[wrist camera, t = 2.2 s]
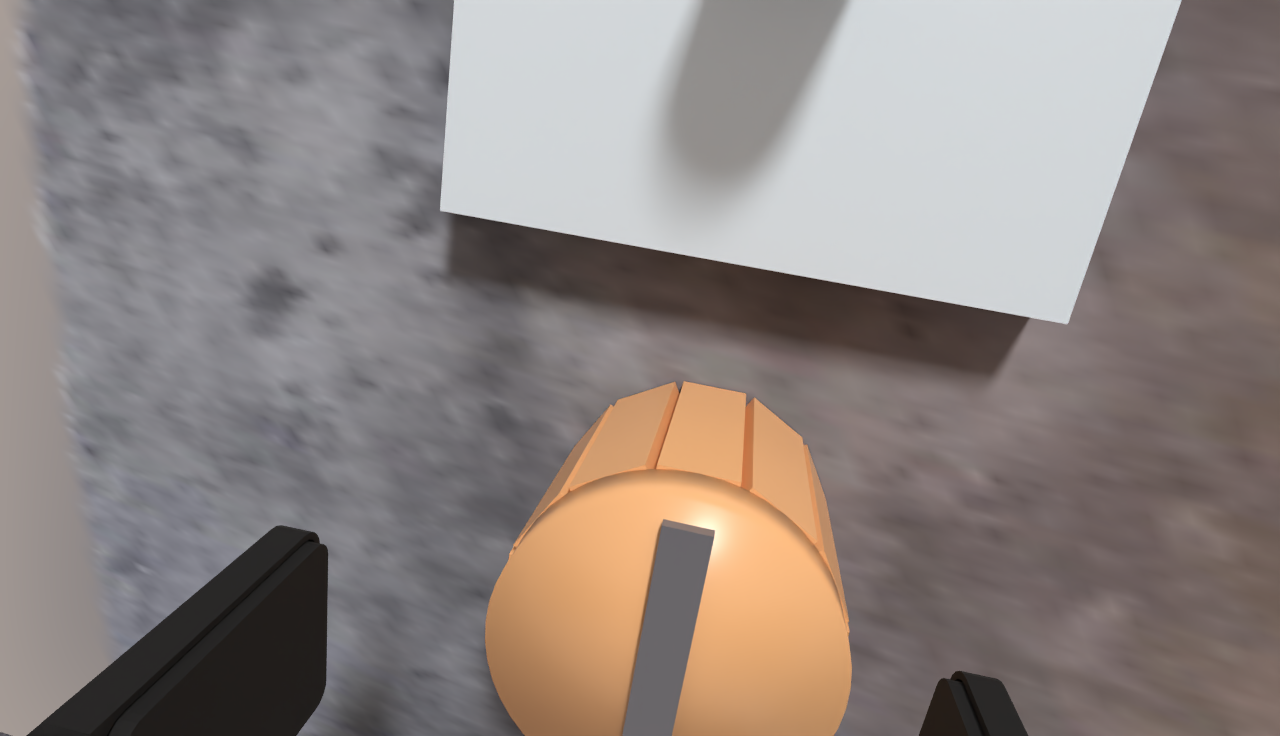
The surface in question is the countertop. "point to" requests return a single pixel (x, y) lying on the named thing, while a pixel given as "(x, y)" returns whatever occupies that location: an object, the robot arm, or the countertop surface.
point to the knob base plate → (811, 133)
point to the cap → (675, 581)
